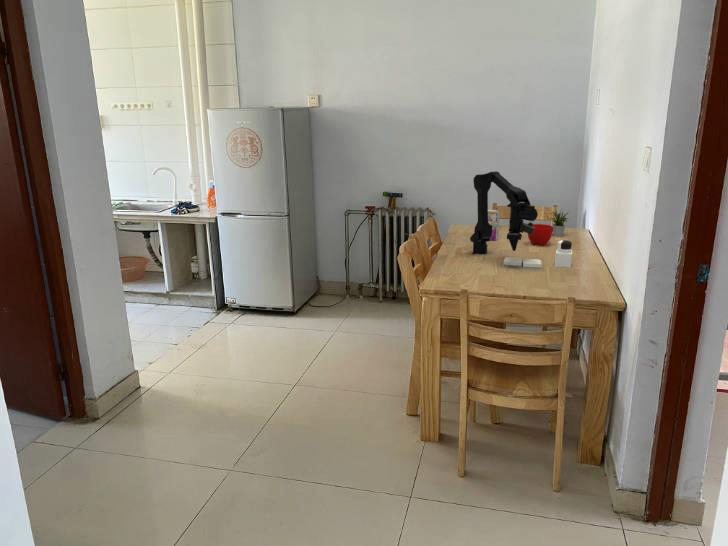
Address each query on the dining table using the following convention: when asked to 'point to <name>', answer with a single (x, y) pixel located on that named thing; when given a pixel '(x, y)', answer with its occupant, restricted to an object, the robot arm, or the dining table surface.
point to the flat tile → (532, 263)
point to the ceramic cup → (541, 234)
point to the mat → (519, 266)
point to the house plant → (558, 223)
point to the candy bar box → (494, 223)
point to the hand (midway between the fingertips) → (514, 250)
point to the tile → (513, 261)
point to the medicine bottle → (563, 254)
